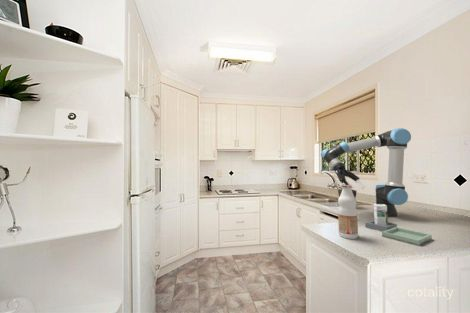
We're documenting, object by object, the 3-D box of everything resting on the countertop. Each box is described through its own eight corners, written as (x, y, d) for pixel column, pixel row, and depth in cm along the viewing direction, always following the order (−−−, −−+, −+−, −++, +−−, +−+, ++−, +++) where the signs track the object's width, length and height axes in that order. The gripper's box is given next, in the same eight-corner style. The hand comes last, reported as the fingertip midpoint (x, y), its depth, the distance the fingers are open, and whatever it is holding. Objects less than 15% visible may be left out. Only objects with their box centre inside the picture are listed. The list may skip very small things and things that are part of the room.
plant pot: (355, 207, 196) (355, 189, 197) (358, 210, 183) (358, 191, 183) (337, 206, 202) (337, 189, 202) (339, 209, 188) (338, 190, 188)
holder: (375, 224, 140) (375, 219, 141) (397, 229, 130) (396, 224, 130) (365, 227, 134) (365, 222, 134) (387, 232, 124) (386, 227, 124)
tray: (396, 231, 125) (395, 227, 125) (431, 239, 112) (431, 234, 112) (382, 236, 117) (382, 231, 117) (418, 245, 103) (418, 240, 104)
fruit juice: (337, 237, 117) (336, 185, 118) (339, 232, 125) (338, 184, 126) (357, 240, 112) (355, 186, 113) (358, 235, 120) (357, 184, 121)
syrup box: (377, 229, 130) (376, 205, 131) (374, 226, 136) (373, 203, 137) (388, 230, 128) (387, 205, 129) (385, 227, 134) (384, 203, 135)
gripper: (344, 169, 166) (364, 190, 153) (323, 169, 153) (343, 193, 140) (350, 162, 162) (372, 183, 148) (329, 162, 149) (350, 185, 136)
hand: (358, 188), depth 144 cm, fingers open, 13 cm apart
